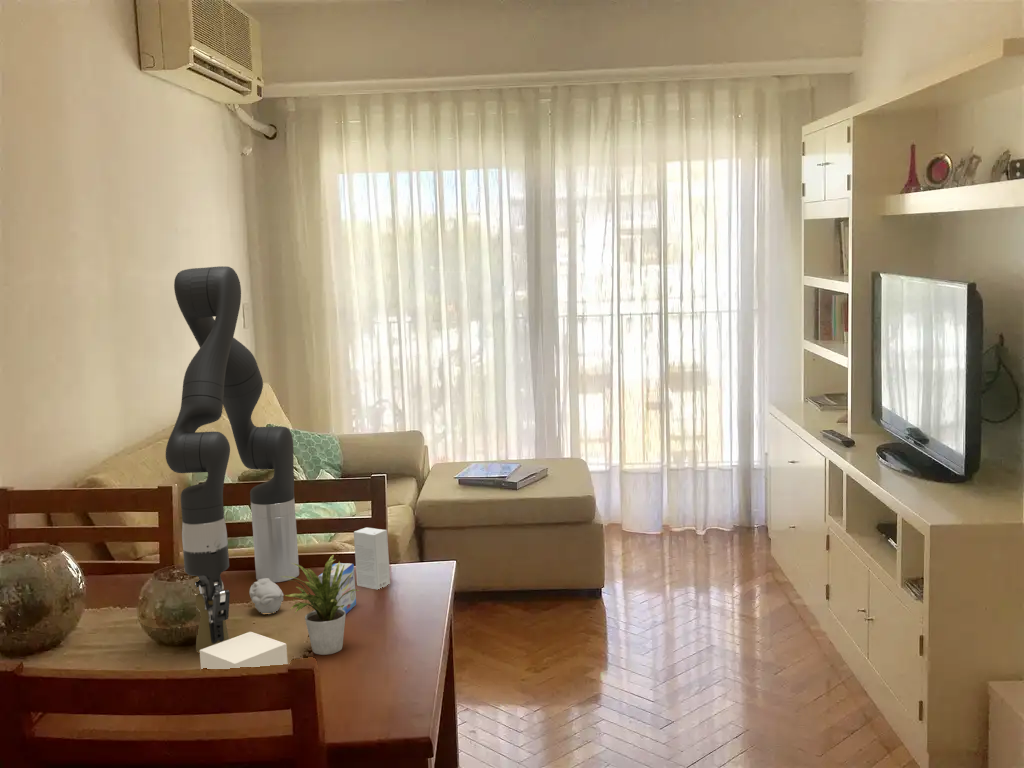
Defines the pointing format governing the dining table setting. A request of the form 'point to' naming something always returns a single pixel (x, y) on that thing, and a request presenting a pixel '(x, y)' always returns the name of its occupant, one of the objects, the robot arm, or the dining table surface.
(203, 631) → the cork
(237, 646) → the cream block
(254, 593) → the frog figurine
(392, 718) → the dining table surface
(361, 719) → the dining table surface
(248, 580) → the dining table surface
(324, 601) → the house plant
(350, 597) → the medicine box
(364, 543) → the skincare box
